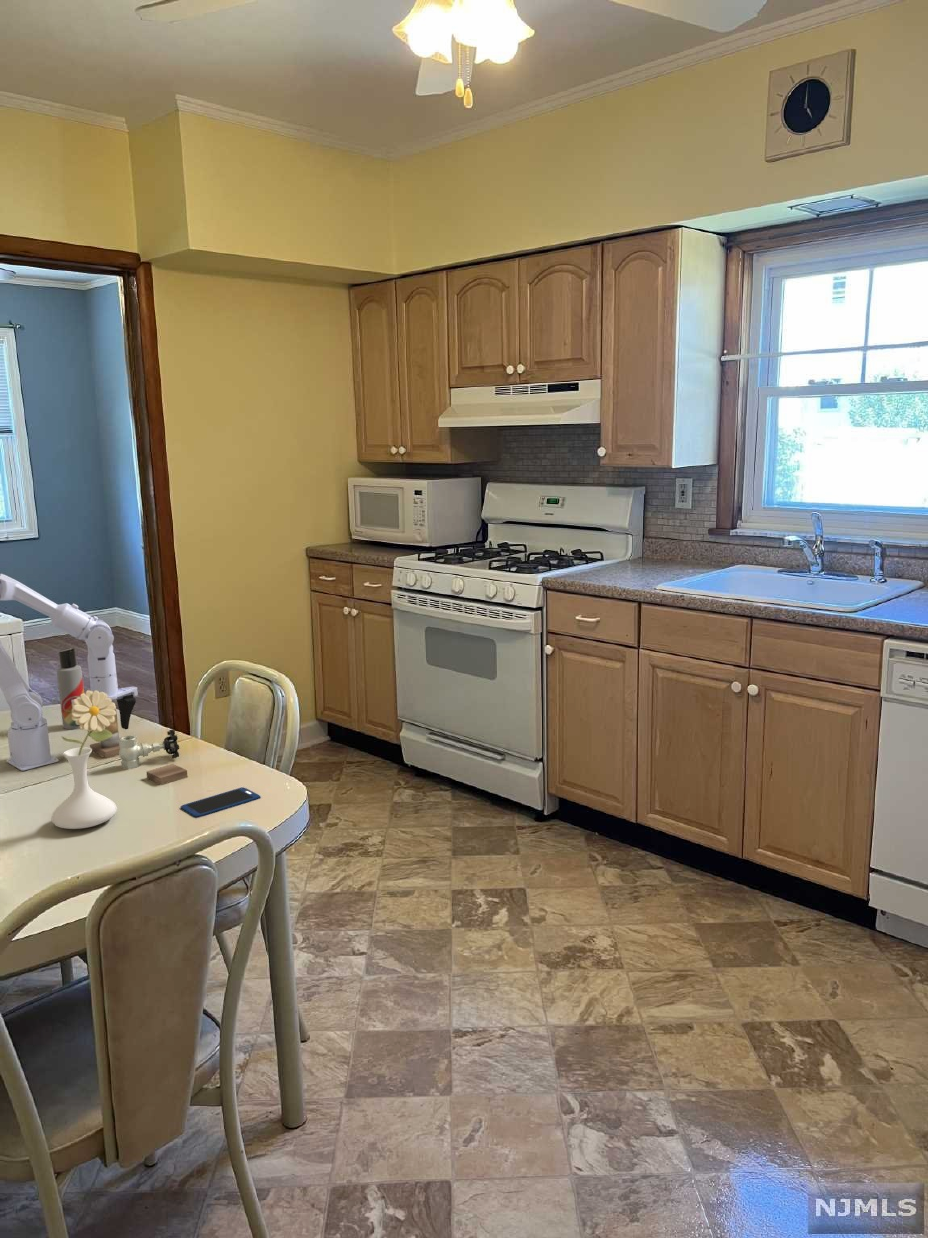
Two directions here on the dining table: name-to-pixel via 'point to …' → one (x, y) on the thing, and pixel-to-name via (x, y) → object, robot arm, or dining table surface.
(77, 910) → the dining table surface
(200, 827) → the dining table surface
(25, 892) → the dining table surface
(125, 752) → the valve
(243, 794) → the cell phone
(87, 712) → the flower in vase
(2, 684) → the robot arm
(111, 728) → the marker peg
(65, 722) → the lotion bottle
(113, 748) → the blocks
